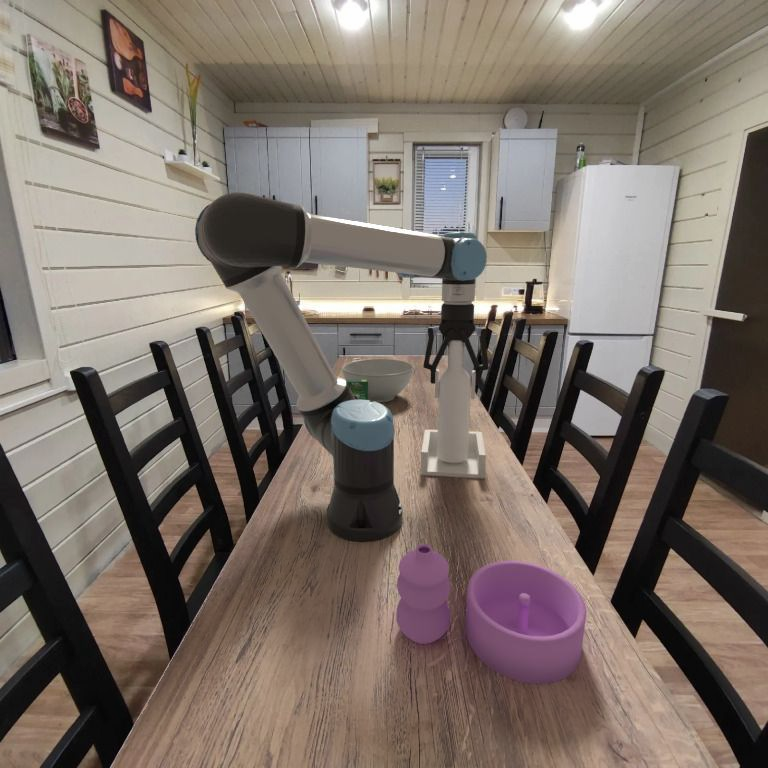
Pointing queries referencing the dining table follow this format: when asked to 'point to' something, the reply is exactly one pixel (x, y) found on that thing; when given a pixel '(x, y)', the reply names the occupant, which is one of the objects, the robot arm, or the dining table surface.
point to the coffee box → (359, 388)
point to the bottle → (454, 407)
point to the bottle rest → (466, 469)
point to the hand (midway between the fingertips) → (454, 396)
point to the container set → (498, 614)
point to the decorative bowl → (380, 376)
